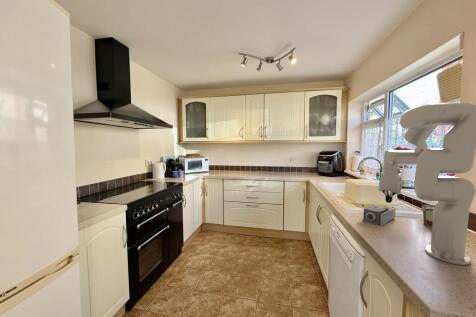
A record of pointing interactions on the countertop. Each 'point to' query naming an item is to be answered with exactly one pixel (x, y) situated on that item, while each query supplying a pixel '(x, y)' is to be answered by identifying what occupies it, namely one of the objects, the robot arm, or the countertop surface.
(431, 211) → the food container
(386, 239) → the countertop surface
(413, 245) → the countertop surface
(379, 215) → the camera housing
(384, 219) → the side door
